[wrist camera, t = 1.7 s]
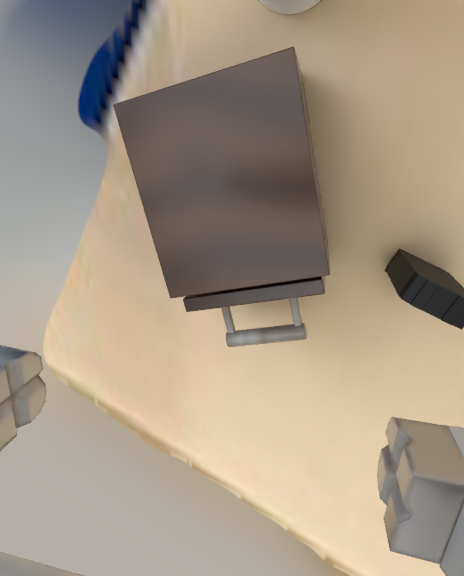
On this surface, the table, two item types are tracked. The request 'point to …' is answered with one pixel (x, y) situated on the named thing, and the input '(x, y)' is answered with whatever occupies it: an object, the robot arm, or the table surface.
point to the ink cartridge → (427, 287)
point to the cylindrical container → (289, 5)
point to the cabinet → (229, 177)
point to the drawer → (254, 296)
